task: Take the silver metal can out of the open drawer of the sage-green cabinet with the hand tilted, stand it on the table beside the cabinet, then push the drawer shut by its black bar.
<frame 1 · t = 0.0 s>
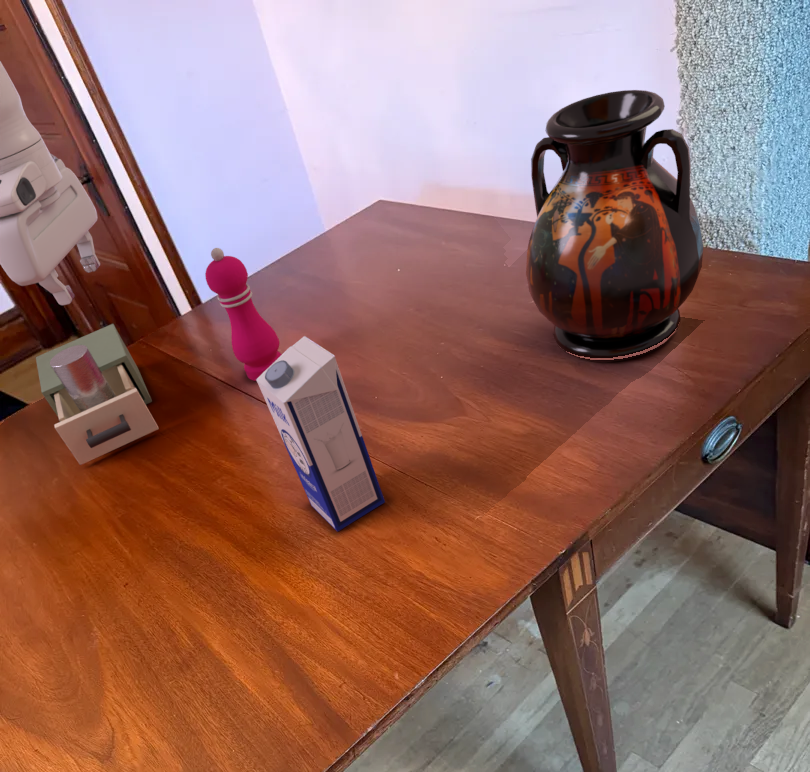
hand: (81, 285, 98), 23 cm above the table, tool pointing down, fingers open, 8 cm apart
pepper mill: (267, 371, 119), on the table
can: (110, 423, 114), point 2 cm above the table, touching drawer
amphora vase: (616, 334, 102), on the table
milk carton: (348, 505, 89), on the table
drawer: (104, 415, 111), point 4 cm above the table, slide at 10.0 cm, touching can
cabinet: (106, 401, 124), on the table
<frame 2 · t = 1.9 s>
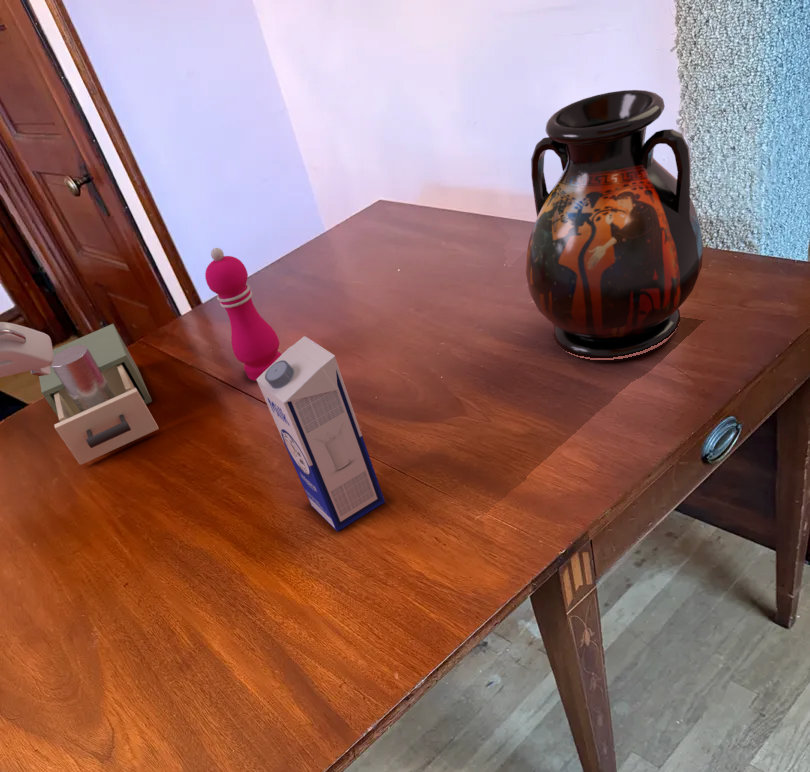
hand: (13, 376, 95), 18 cm above the table, tool tilted 45°, fingers open, 8 cm apart
nothing on the table moved.
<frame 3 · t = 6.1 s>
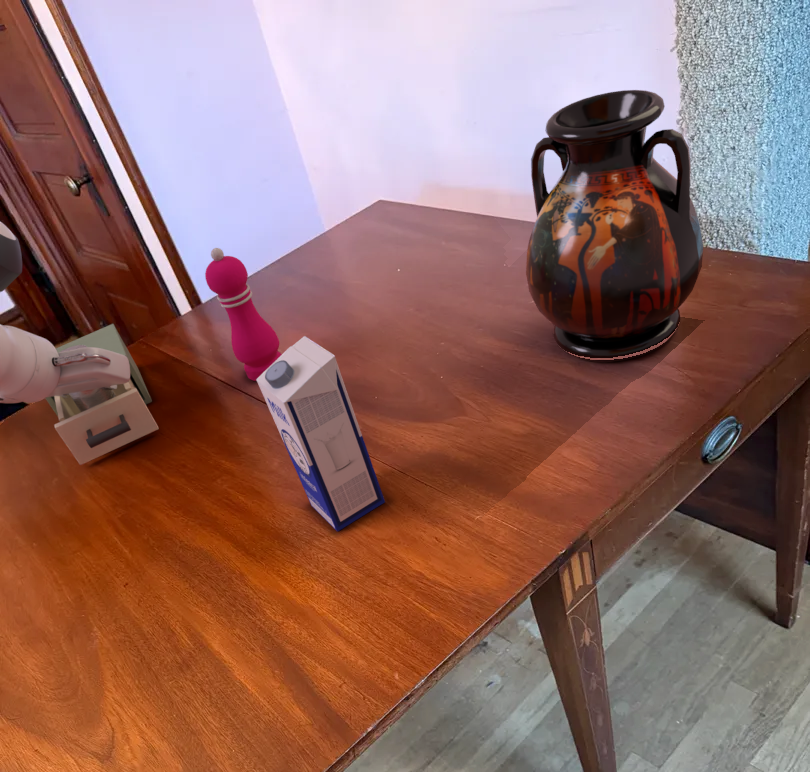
hand: (91, 388, 110), 8 cm above the table, tool tilted 45°, fingers closed on can, 5 cm apart
can: (110, 423, 114), point 2 cm above the table, touching drawer, gripper
everything else where it was.
when the fingers open (6 cm above the table, at t = 16.5 s): can stays where it is, on the table.
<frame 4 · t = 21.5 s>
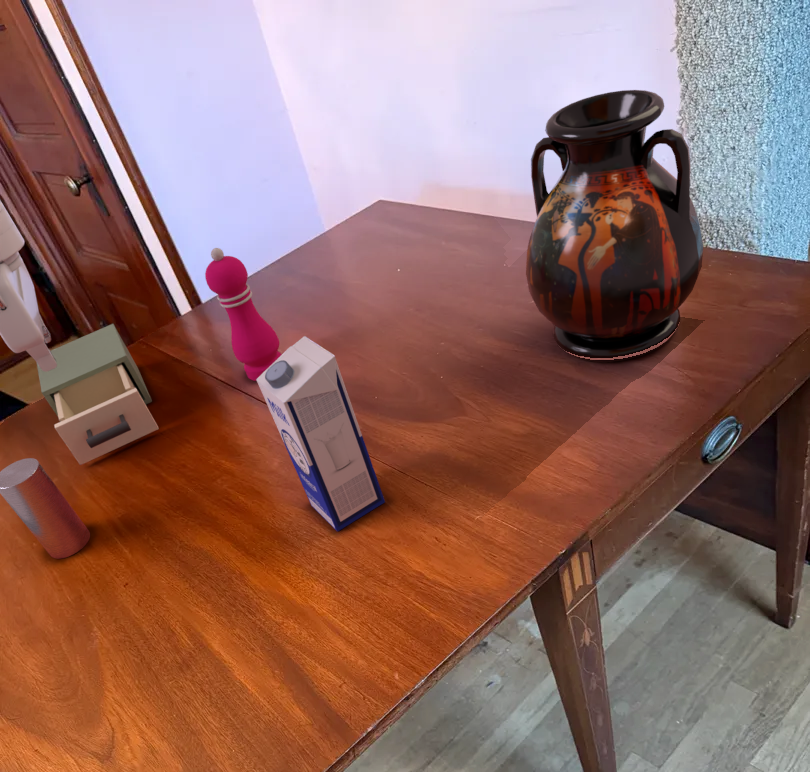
hand: (48, 354, 90), 21 cm above the table, tool pointing down, fingers open, 7 cm apart
can: (70, 543, 97), on the table
drawer: (104, 415, 111), point 4 cm above the table, slide at 10.0 cm
everything else where it was.
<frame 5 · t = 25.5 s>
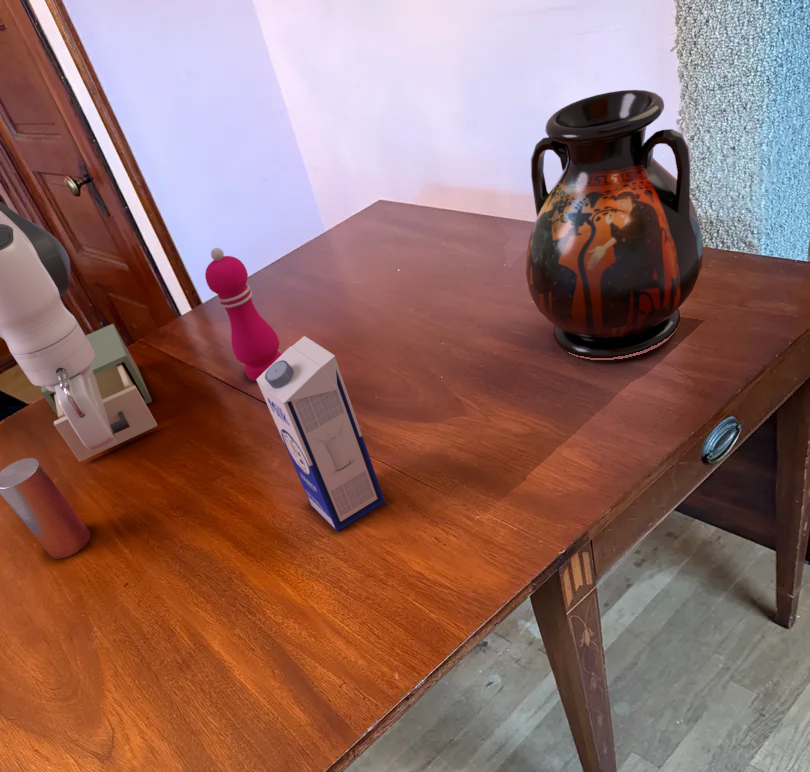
hand: (110, 442, 104), 5 cm above the table, tool pointing down, fingers closed
drawer: (103, 412, 112), point 4 cm above the table, slide at 9.0 cm, touching gripper
everything else where it was.
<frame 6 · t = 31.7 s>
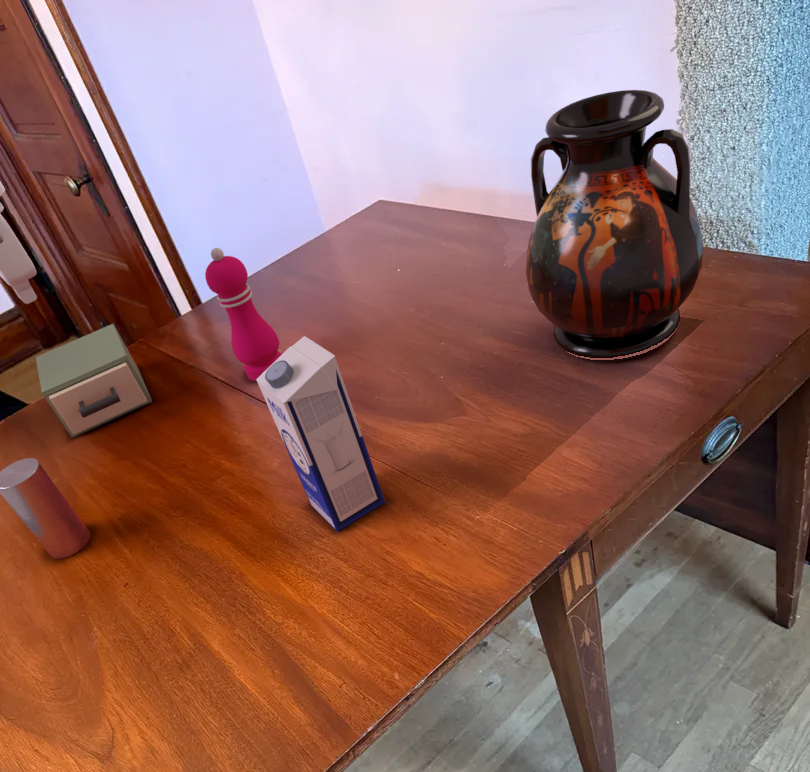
hand: (29, 299, 96), 24 cm above the table, tool pointing down, fingers closed
drawer: (96, 388, 119), point 4 cm above the table, slide at 0.0 cm, touching cabinet
everything else where it was.
at the end: can inside the target area (0.0 cm from its centre), on the table; can tilted 0°; drawer slide at 0.0 cm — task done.
